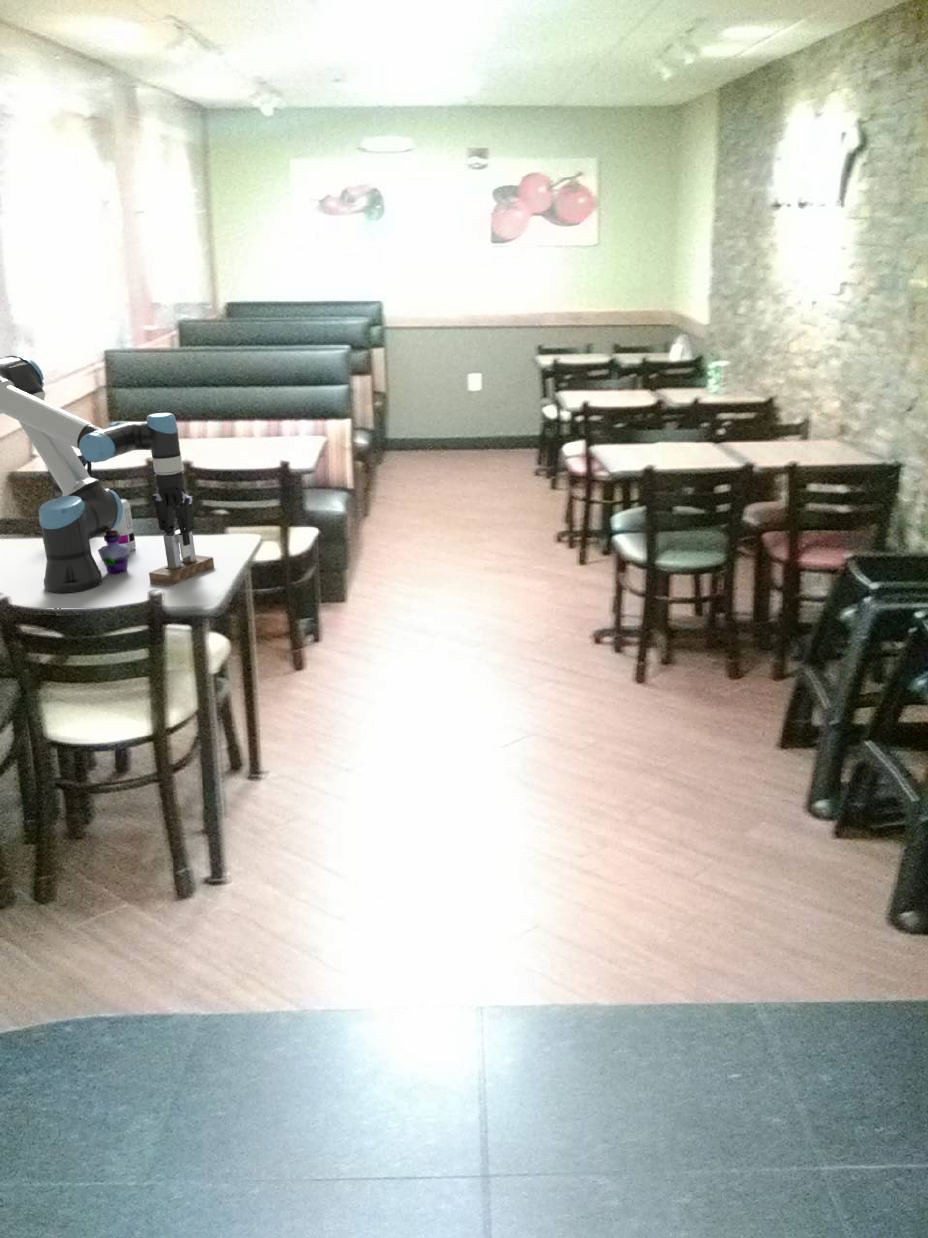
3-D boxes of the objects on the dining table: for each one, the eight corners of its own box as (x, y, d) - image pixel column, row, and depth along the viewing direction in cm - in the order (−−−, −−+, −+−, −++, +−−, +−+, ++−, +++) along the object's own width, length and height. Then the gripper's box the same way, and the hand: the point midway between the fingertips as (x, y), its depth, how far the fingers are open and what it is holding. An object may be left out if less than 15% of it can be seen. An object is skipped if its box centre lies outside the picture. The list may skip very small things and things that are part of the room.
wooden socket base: (169, 586, 309) (168, 575, 308) (150, 583, 312) (148, 572, 311) (214, 567, 323) (213, 557, 322) (195, 564, 326) (194, 554, 326)
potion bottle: (100, 578, 319) (94, 536, 315) (102, 568, 327) (96, 528, 323) (132, 575, 321) (126, 534, 317) (133, 565, 329) (127, 525, 325)
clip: (176, 569, 313) (171, 536, 310) (168, 568, 314) (163, 535, 311) (196, 561, 319) (191, 528, 316) (188, 560, 321) (183, 527, 317)
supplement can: (119, 555, 340) (111, 506, 335) (102, 551, 345) (94, 503, 340) (141, 548, 346) (134, 500, 341) (124, 545, 351) (117, 497, 346)
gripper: (201, 470, 307) (212, 554, 315) (156, 467, 315) (168, 549, 323) (182, 476, 301) (193, 562, 309) (136, 473, 309) (149, 557, 316)
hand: (180, 555), depth 316 cm, fingers closed on clip, 3 cm apart
